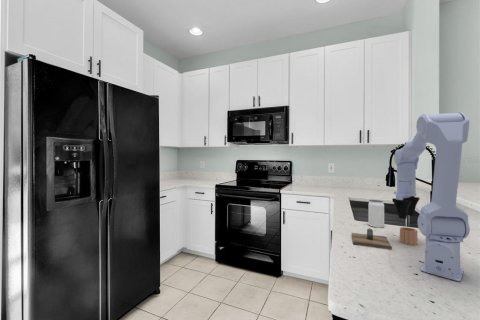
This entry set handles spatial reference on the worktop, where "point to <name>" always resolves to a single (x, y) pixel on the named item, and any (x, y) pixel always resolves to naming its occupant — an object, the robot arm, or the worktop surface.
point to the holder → (371, 240)
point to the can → (376, 213)
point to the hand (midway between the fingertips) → (406, 216)
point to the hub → (408, 236)
